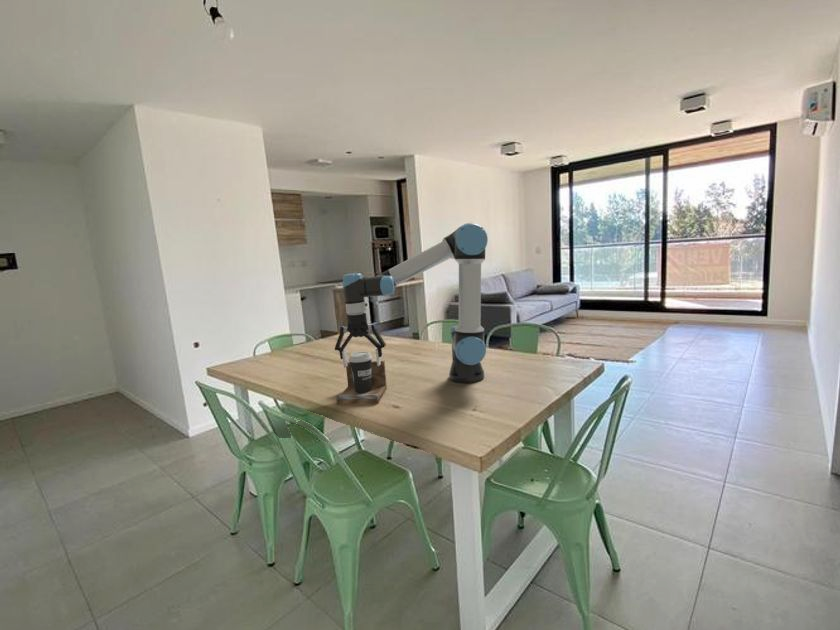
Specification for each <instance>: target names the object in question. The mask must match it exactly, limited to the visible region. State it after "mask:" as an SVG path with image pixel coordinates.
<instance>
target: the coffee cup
mask: <svg viewBox="0 0 840 630" xmlns="http://www.w3.org/2000/svg"><path fill="white" fill-rule="evenodd" d="M372 360H373V356H372V354H371V352H369V351H357V352H351V353H350V354H349V357H348V358H347V362H350V366H351V371H352V376H353V382H354V387H355V392H357V393H366V392H369V391H371V361H372Z"/></svg>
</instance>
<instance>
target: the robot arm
mask: <svg viewBox="0 0 840 630" xmlns="http://www.w3.org/2000/svg"><path fill="white" fill-rule="evenodd" d="M488 239H489V238H488V233H487V231H486V229H485V228H484V227H482V226H481V225H479V224H477V223H475V222H468V223H464V224H462V225H460V226H459V227H458V228H457V229H455V230H454V231H453V232H451V233H450V234H449V235H446V236H445V237H443V238H442V241H441V242H438V243H437V244H434V245H433V246H431V247H430V248H426V250H424V251H421V252H420V253H418V254H416V255H414V256H412V257H410V258H408V259H406V260H405V261H402V262H400V263H399V264H397V265H395V266H393V267H391V268H389V269H387V270H385V271H383V272H381V273H379V274H377V275H375V276H373V277H372V276H371V277H364V276H363V274H362V273H359V272H358V273H346V274H344V275H343V276H342V288H343V295H344V304H345V312H346V314H347V315H346V321H347V326H345V325H342V326H340V328H339V335H338V338H337V341H336V343H335V346H334V351H338V352H339V357H340V358H339V359H340V360H342V364H343V368H344V369H345V368H346V367H347V366H348V364H347V362H348V357H347V350H346V349H345V348H346V347H347V346H348V344H349V342H350V341H351V339H352V338H362V337H365V338H366V339H367V340H368V341H369V342H370V343H371V344H372V345H373V346H374V347H376V349H375V356H376V361H377V366H380V364H381V362H380V361H381V358H382V356H383V350H382V349H384V348H385V347H386V345H387V343H386V342H385V340H384V339H383V338H382V336H381V333H380V332H379V331H378V329H377V326H376V324H375V323H373V324H369V325H368V319H367V317H368V316H367V313H366V301H365V298H369V297H370V298H372V297H382V296H384V297H387V296H391V295H394V294H395V287H397V286H399V285H400V284H403V283H406V282H407V281H409V280H411V279H412V278H414V277H416V276H418V275H421V274H422V273H424V272H426V271H428V270H430V269H432V268H434V267H435V266H438V265H440V264H442V263H444V262H446V261H448V260H450V259H452V260H455V262H456V263H458V325H454V326H452V327H451V328H450V338H451V341H450V342H451V356H452V362H451V365H450V369H449V373H448V376H449V377H448V378H449V380H450V381H452V382H456V383H460V384H461V383H466V384H467V383H469V384H470V383H476V382H480V381H482V380H484V379H485V370H484V368H483V365H482V363H481V362H482V361H483V360H484V358H485V357H486V355H487V347H486V346H487V345H486V343H485V328H484V327H483V326H482V325H481V319H482V318H481V317H482V313H481V309H482V307H481V305H482V301H481V300H482V264H483V262H484V261H485V260H486V248H487V246H488ZM369 329H370V331H371V332H372V334H373V335H374V336H375V338H374V337H373V335H372V334H371V333H370V332H369V331H368V330H369ZM347 331H348V333H349V334H348V336H347V337H346V339H345V340H344V342H343V339H344V336H345V333H346V332H347ZM342 342H343V343H342ZM341 344H342V345H341Z"/></svg>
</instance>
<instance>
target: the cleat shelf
mask: <svg viewBox="0 0 840 630" xmlns="http://www.w3.org/2000/svg"><path fill="white" fill-rule="evenodd" d="M380 362H381V364H380V366H377V360H374V361H373V360H371V391H369V392H366V393H357V392H355V387H354V382H353V376H352V371H351V366H350V362H349V361H347V364H348V366H347V367H346V379H347V387H346V388H345V389H344V390H343V391H342V393H341V394H336V396H335V397H336V405H371V404H373V405H374V404H375V405H378V404H379V403H380V401H381V399H382V398H383V396H384V395H385V393H386V391H387V389H388V386H387V375H386V373H387V372H386V362H385V360H380Z"/></svg>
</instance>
